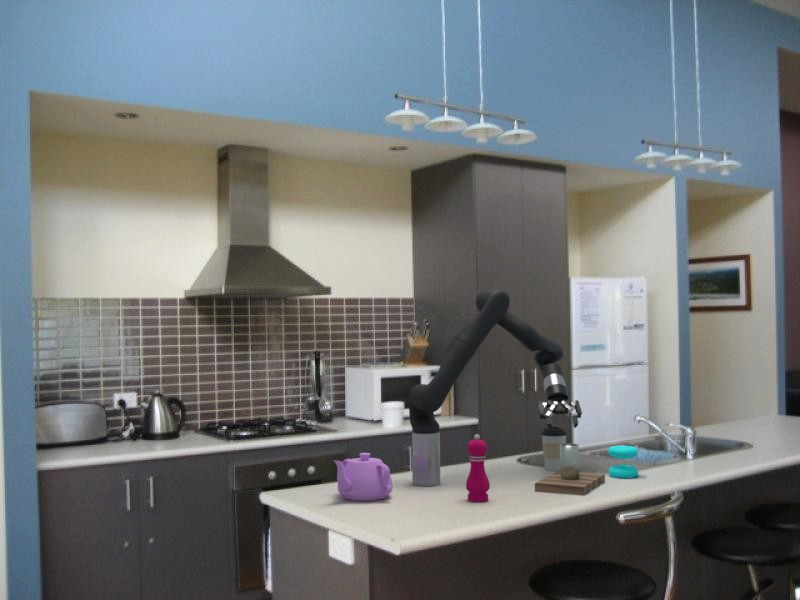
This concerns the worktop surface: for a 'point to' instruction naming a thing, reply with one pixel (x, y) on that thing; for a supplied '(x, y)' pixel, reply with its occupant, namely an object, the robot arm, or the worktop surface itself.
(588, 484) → the board
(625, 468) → the pair of cyan discs
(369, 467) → the teapot
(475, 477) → the pepper mill
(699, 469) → the worktop surface
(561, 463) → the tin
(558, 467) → the coffee cup
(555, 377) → the robot arm
